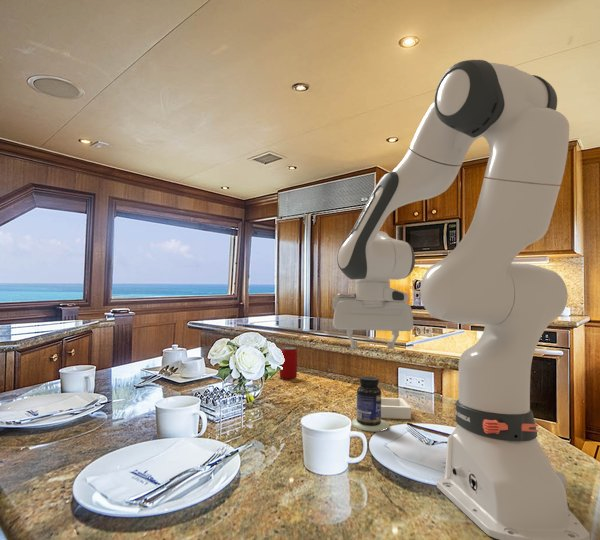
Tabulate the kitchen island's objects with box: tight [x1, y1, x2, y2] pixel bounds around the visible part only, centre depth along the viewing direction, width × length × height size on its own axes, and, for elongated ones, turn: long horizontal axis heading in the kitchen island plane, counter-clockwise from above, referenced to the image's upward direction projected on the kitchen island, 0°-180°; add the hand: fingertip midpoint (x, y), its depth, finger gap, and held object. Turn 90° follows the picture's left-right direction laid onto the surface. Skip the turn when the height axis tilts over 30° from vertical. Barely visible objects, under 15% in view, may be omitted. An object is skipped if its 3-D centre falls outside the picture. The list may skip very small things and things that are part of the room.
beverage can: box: [279, 346, 298, 380], centre depth 154 cm, size 7×7×12 cm
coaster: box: [351, 417, 389, 433], centre depth 99 cm, size 9×9×1 cm
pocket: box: [381, 396, 412, 420], centre depth 110 cm, size 10×10×3 cm
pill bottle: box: [356, 376, 382, 426], centre depth 99 cm, size 6×6×11 cm
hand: (372, 348), depth 100 cm, fingers open, 8 cm apart
